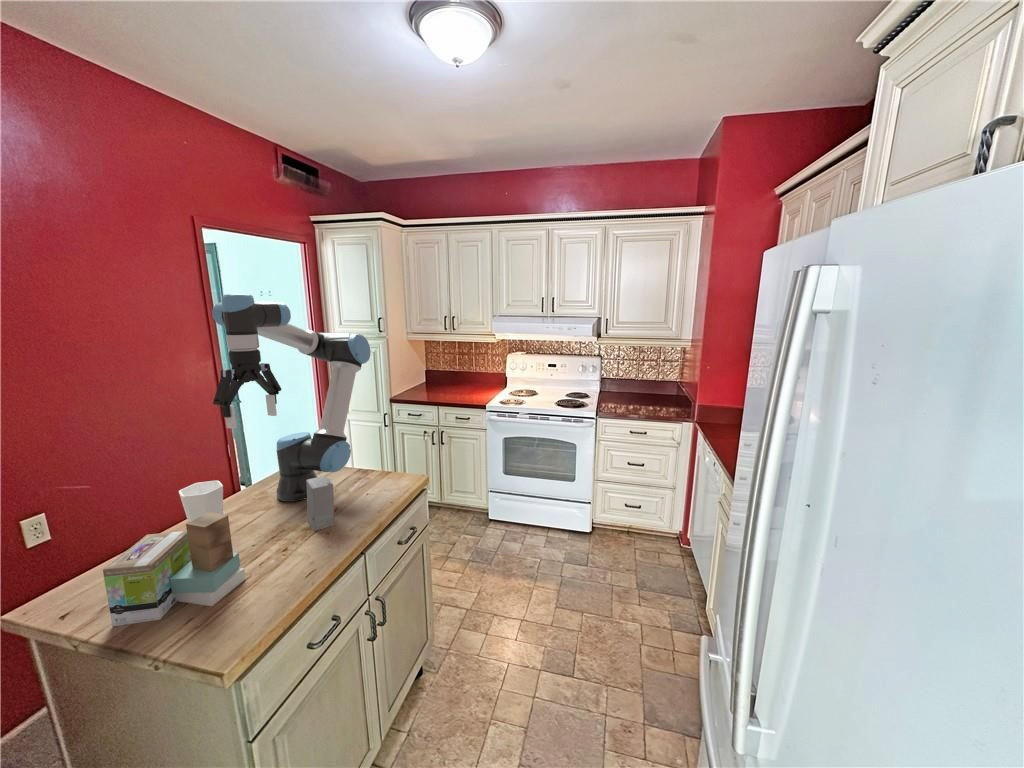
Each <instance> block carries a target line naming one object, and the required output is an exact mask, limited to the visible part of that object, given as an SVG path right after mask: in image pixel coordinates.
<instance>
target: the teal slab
mask: <svg viewBox="0 0 1024 768" xmlns="http://www.w3.org/2000/svg"><path fill="white" fill-rule="evenodd" d="M233 557H234V558H232V559H231V560H229V561H228V562H226V563H224V564H223V565H221V566H220V567H218V568H217V569H215V570H213V571H212V572H209V571H205V570H200V569H195V568H192V561H190V562H189V563H188V564H187V565H185V566H184V567H183V568H182V569H181V570H180V571H178V572H177V573H176V574H175V575H174V576H172V577H171V578H170V584H171V589H172V594H174V593H203V592H216V591H217V589H218V588H219V587H220V586H221V585H222V584H223V583H224V582H225V581H226V580H227V579H228V578H229V577H230V576H231V575H232V574H233V573H234V572H235V571H236V570H237V569H238V568H241V563H240V562H241V559H240V554H239V551H238V552H233Z"/></svg>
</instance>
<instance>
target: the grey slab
mask: <svg viewBox="0 0 1024 768" xmlns="http://www.w3.org/2000/svg"><path fill="white" fill-rule="evenodd" d="M245 580H246V572H245V568H244V567H239V568H238V569H237V570H236V571H235V572H234V573H233V574H232V575H231V576H230V577H229V578H228V579H227V580H226V581H225V582H224V583H223V584H222V585H221V586H220V587H219V588H218V589H217V591H216V592H203V593H176V597H177V601H176V602H180V603H188V604H195V605H202V606H208V607H213V606H214V605H215V604H217V603H218V602H219V601H220V600H221V599H222V598H224V597H226V596H227V595H228V594H229V593H230V592H232V591H233V590H234V589H235V588H236V587H238V586H239V585H240V584H241V583H242V582H244V581H245Z"/></svg>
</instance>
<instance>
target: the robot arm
mask: <svg viewBox="0 0 1024 768" xmlns="http://www.w3.org/2000/svg"><path fill="white" fill-rule="evenodd" d="M211 313H212V319H213V320H214V321H215V323H216V324H217V325H219V326H223V327H224V331H225V338H226V344H227V348H228V349H229V351H228V361H229V363H230V365H231V369H225V368H223V369H220V380H219V381H218V382H219V383H218V385H217V389H216V391H215V395H214V398H213V402H212V404H213V405H215V406H220V408H221V411H222V412H221V413H222V416H223V418H224V419H225V425H226V429H233V430H234V429H237V426H238V425H237V418H236V411H235V405H234V404H232V403H233V402H234V399H235V398H236V395H237V394H238V392H239V391H240V389H241V387H242V386H243V385H244V384H247V383H249V382H255V383H256V384H258V385H259V386H260V387H261V388H262V389H263V390H264V391H265V392H266V394H265V402H266V410H267V416H269V417H270V416H271V417H272V416H273V417H276V416H278V414H277V404H278V403H277V395H279V394H280V392H281V391H282V388H281V385H280V384H279V382H278V380H277V378H276V377H275V375H274V373H273V372H272V369H271V365H270V363H268V362H267V363H264V362H262V363H261V361H262V358H261V351H260V349H259V348H260V340H259V336H260V337H263V338H266V339H269V340H271V341H275V342H277V343H280V344H282V345H286V346H289V347H291V348H294V349H297V351H298V352H299V353H300V354H303V355H306V356H308V357H312V358H313V359H318V360H319V361H320V360H321V361H324V362H328V363H329V365H330V366H331V368H332V371H331V374H330V380H329V385H328V389H327V394H326V398H325V403H324V406H323V411H322V417H321V420H320V423H319V424H320V425H319V429H318V430H316V431H315V432H313V435H311V433H310V432H308V431H307V432H306V431H305V432H304V431H303V432H295V433H291V434H288V435H285V436H282V437H280V438H279V439H277V441H276V456H277V463H278V464H277V465H278V470H279V471H278V472H279V479H278V485H277V487H276V498H277V499H278V500H280V501H283V502H295V501H296V502H297V501H301V499H302V500H305V499H304V498H306V499H307V483H306V480H308V479H312V478H317V477H318V476H317V474H316V471H317V472H323V473H337V472H339V471H341V470H343V468H345V467H346V465H347V464H348V463H349V460H350V458H351V454H352V450H351V445H350V444H349V442H347V440H348V437H347V435H346V434H345V427H346V423H347V419H348V413H349V408H350V403H351V398H352V394H353V388H354V384H355V378H356V376H357V375H356V374H357V373H358V372H359V371H361V370H362V365H363V364H367V362H368V361H369V360H370V357H371V345H370V343H369V341H368V339H367V337H365V336H364V335H363V334H360V333H353V332H351V333H345V332H344V333H342V332H341V333H340V332H339V333H335V332H334V333H332V332H317V331H314V330H311V329H307V330H305V329H303V328H301V327H297V326H295V325H292V324H291V323H290V321H291V318H292V317H291V315H292V314H291V310H290V307H288V305H287V304H286V303H284V302H280V301H279V302H278V301H255V299H254V295H253V294H248V293H247V294H246V293H245V294H243V293H225V294H223V295H222V297H221V302H218V303H217V304H215V305H213V308H212V311H211Z"/></svg>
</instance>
